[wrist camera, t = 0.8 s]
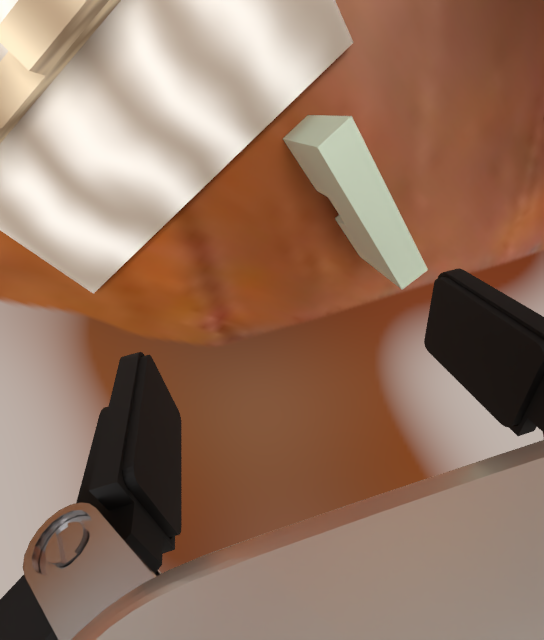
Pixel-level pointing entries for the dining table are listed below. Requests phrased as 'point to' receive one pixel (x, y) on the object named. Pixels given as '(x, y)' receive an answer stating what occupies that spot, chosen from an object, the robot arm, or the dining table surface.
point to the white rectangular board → (138, 111)
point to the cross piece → (356, 194)
